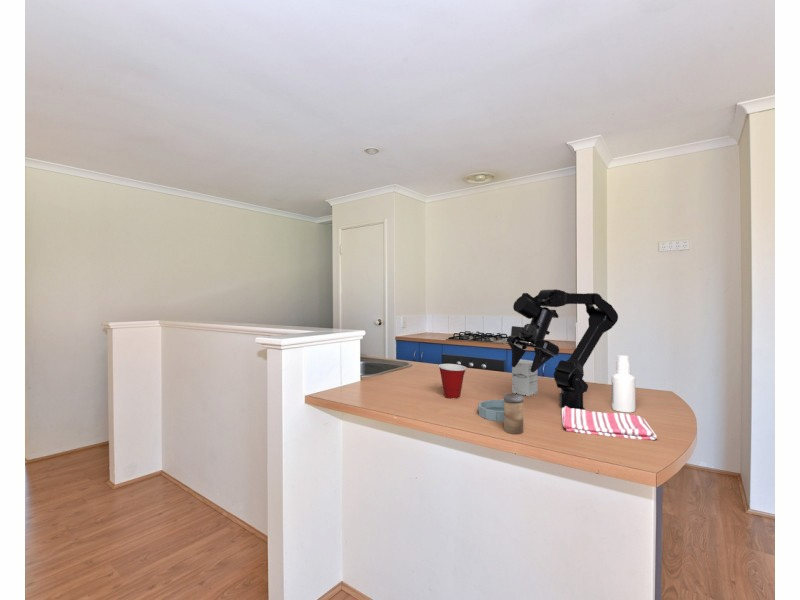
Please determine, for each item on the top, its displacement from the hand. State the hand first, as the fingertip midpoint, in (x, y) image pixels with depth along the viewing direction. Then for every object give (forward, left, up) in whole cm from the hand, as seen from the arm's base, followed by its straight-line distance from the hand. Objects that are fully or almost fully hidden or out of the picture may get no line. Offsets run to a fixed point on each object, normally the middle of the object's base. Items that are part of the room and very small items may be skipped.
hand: (522, 369), depth 125 cm
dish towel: (-22, +8, -16) cm, 28 cm away
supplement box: (-6, -29, -15) cm, 33 cm away
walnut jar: (+5, +14, -15) cm, 21 cm away
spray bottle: (-34, -9, -15) cm, 38 cm away
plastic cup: (+22, -22, -15) cm, 35 cm away
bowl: (+7, -1, -15) cm, 17 cm away
